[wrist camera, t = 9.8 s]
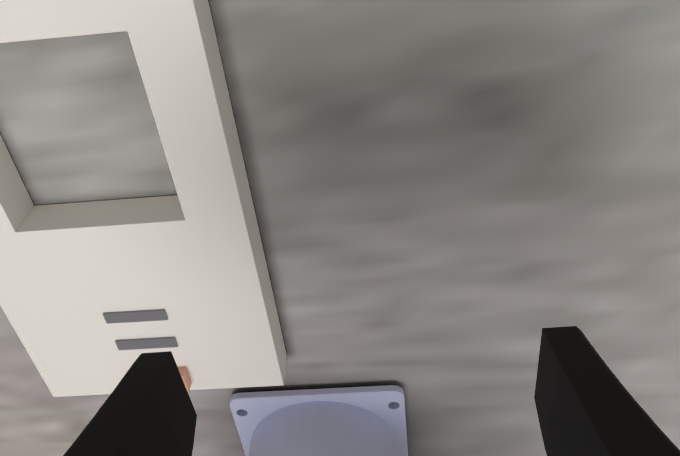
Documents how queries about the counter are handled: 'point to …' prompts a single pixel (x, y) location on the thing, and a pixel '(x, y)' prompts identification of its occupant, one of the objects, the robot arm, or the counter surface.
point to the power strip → (144, 226)
